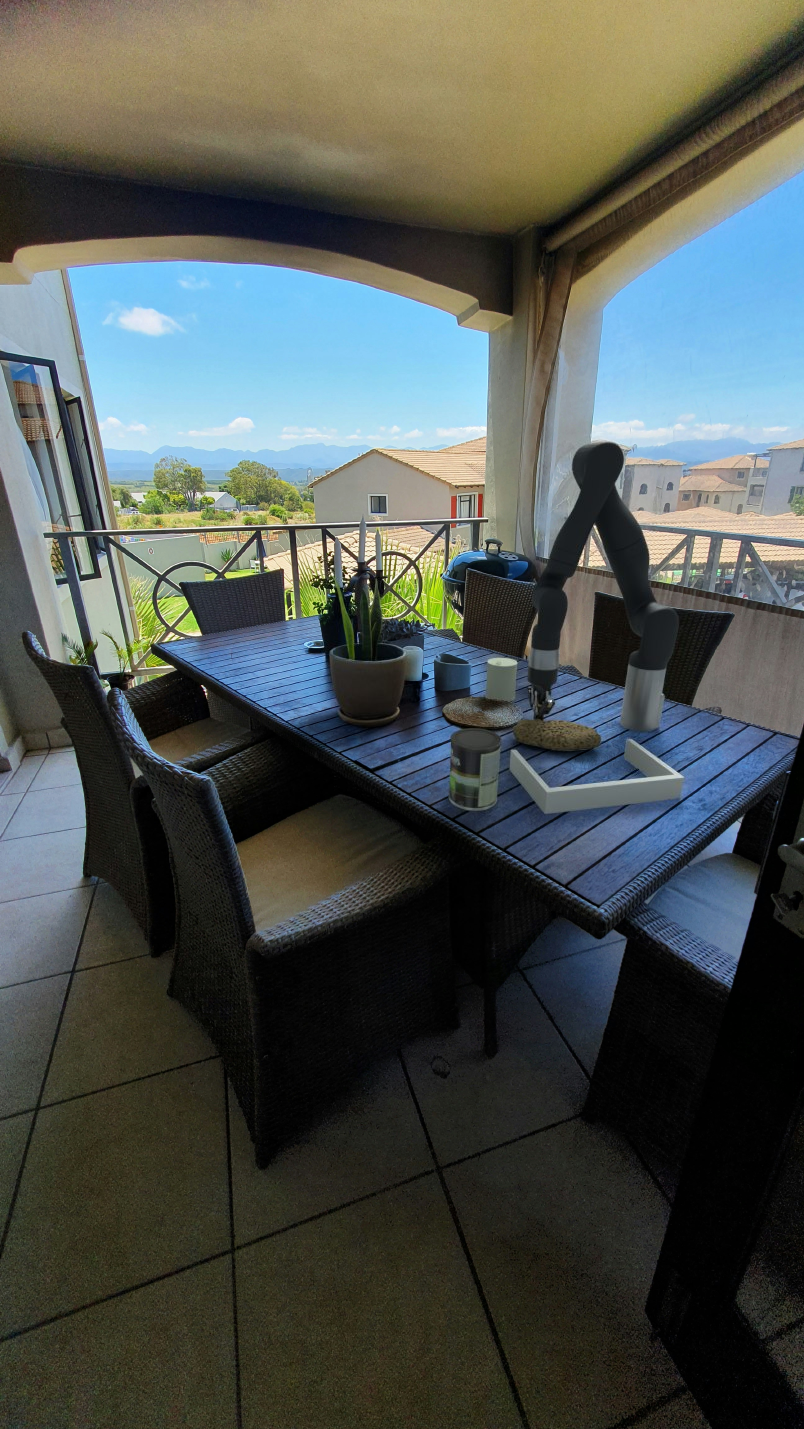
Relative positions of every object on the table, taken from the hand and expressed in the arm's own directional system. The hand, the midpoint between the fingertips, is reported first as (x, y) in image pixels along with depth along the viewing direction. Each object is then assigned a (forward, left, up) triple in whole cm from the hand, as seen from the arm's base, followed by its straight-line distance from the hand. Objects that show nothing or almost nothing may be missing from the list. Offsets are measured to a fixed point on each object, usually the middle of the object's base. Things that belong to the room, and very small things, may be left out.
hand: (537, 726), depth 150 cm
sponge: (-1, +9, -2) cm, 10 cm away
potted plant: (+43, -20, -2) cm, 47 cm away
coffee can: (+28, +30, -2) cm, 41 cm away
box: (0, +29, -2) cm, 29 cm away
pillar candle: (+1, -27, -2) cm, 27 cm away
